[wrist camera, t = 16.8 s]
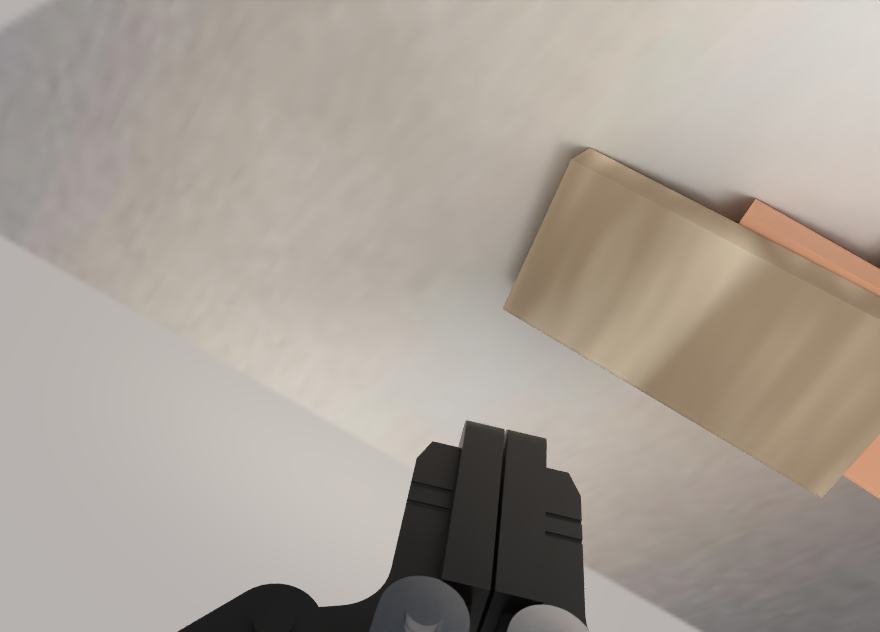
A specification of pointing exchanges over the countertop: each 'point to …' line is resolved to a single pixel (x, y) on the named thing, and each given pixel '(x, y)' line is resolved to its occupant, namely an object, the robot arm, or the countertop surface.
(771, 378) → the domino
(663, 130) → the countertop surface
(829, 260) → the domino
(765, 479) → the countertop surface
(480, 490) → the robot arm
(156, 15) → the countertop surface
